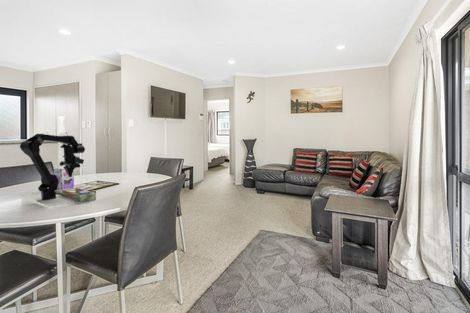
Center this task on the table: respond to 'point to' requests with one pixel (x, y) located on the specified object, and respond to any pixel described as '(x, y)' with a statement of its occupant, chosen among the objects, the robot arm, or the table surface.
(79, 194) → the block
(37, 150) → the robot arm
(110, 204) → the table surface
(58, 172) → the candy box
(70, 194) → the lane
